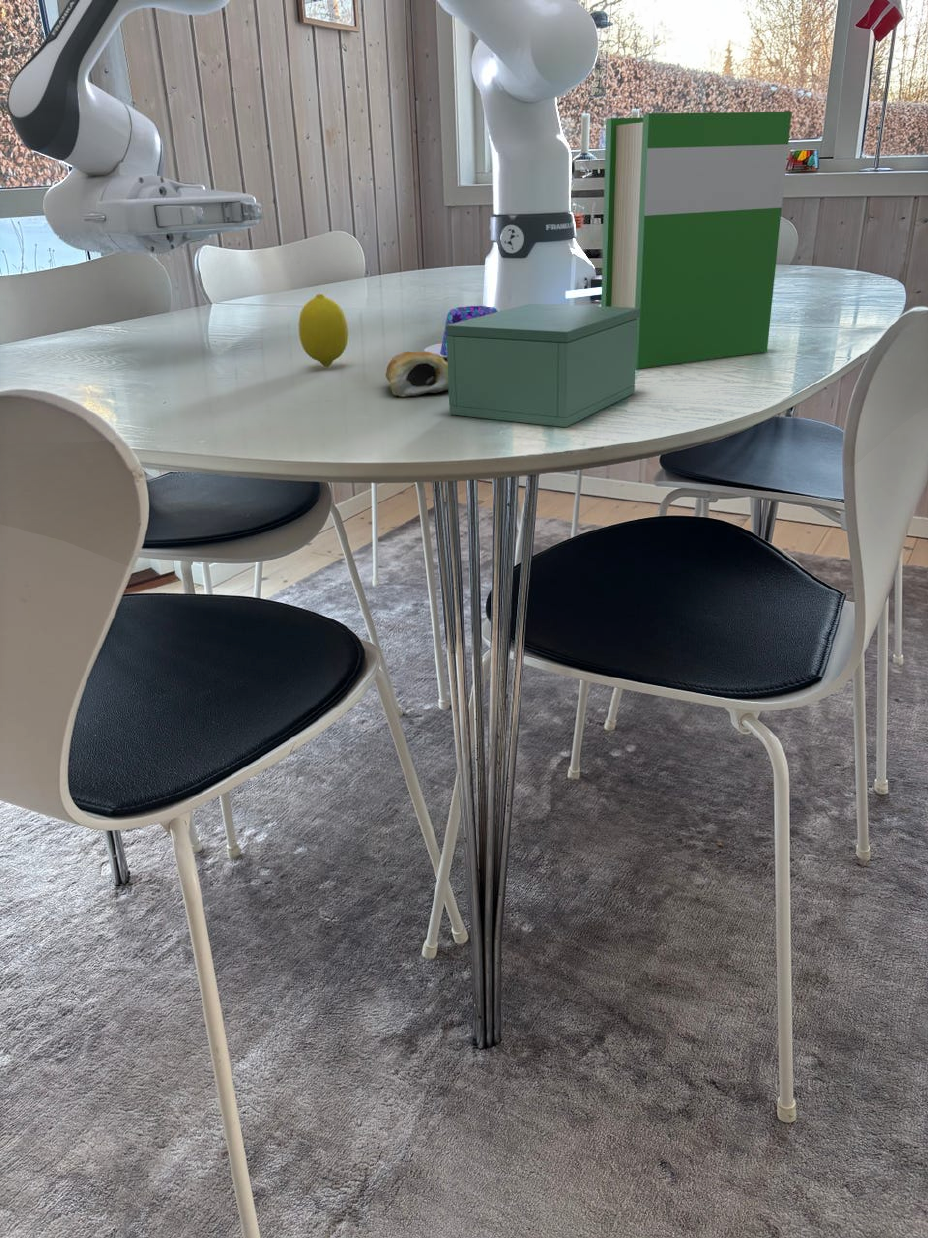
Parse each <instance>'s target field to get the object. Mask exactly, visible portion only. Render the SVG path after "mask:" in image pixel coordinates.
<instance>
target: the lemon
mask: <svg viewBox="0 0 928 1238" xmlns="http://www.w3.org/2000/svg"><path fill="white" fill-rule="evenodd" d="M298 318H299V319H298V335H299V336H298V338H299V341H300V344H301V347H302V349H303V351H304V352H305V353H306V355H307V356H309V358H311V359H313V360H314V361H317V362H319V363H320V364H321V365H322V366H323V367H325V368H328V367H330V366H331V365H332V363H334V361H335V360H337V359H339V358H340V357H341V356H342V355H343V354H344V352H345V350H346V348H347V345H348V342H349V341H348V340H349V328H348V323H347V319H346V316H345V313H344V311H343V309H342V308H341V306H340V305H339V304H338V303H337V302H336V301H335V300H333V299H331V298H329V297H326V296H325V295H324V294H323V293H317V294H316V295H315V296H314V297H313V298H312V299H309V301H307V302H306V303H305V304H304V305H303V307H302V308H301V311H300V314H299V317H298Z"/></svg>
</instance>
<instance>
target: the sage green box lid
mask: <svg viewBox="0 0 928 1238" xmlns="http://www.w3.org/2000/svg"><path fill="white" fill-rule="evenodd" d="M640 311H641V308H630V307H604V306H577V305H551V304H527V305H523V306H519V307H515V308H512V309H508V310H504V311H500V312H496V313H492V314H488V315H484V316H480V317H476V318H473V319H469V320H465V321H461V322H457V323H453V324H449V325H446V324H445V325H446V335H449V336H465V337H482V338H499V339H515V340H532V341H548V342H565V343H567V342H570V341H573V340H576V339H579V338H582V337H584V336H587V335H590V334H593V333H596V332H599V331H602V330H605V329H608V328H611V327H613V326H616V325H619V324H622V323H625V322H628V321H631V320H634V319H637V318H640Z"/></svg>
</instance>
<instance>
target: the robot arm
mask: <svg viewBox="0 0 928 1238" xmlns="http://www.w3.org/2000/svg"><path fill="white" fill-rule="evenodd" d="M230 1H231V0H68V1H67V3H66V5H65V6H64V8H63V9H62V11H61V13H60V14H59V16H58V18H57V19H56V21H55V23H54V24H53V25H52V27H51V29H50V31H49V32H48V33H47V35H46V37H45V38H44V39H43V42H42V43H41V45H40V46H39V47H38V48H37V50H36V51H35V52H34V53H33V54H32V56H31V57H30V58H29V59H28V60H27V61H26V62H25V63H24V64H23V66H22V67H21V68H20V69H19V70H18V72H17V74H16V75H15V76H14V78H13V80H12V81H11V84H10V86H9V88H8V92H7V95H6V96H7V97H6V107H7V111H8V116H9V119H10V121H11V124H12V127H13V129H14V130H15V132H16V134H17V136H18V138H19V139H20V141H21V143H22V144H23V146H25V147H26V148H27V149H28V150H29V151H32V152H35V153H36V154H37V153H38V154H39V155H42V156H45V157H46V158H50V159H52V160H55V161H58V162H62V163H63V164H65V165H67V166H69V167H70V168H71V167H72V169H71V170H70V171H69V173H68V174H67V175H66V176H65V178H64V179H62V180H61V181H59V182H58V183H56V184H54V185H53V186H51V187H50V188H49V189H48V190H47V191H46V193H45V195H44V198H43V202H42V203H43V206H42V207H43V213H44V217H45V220H46V222H47V224H48V226H49V228H50V229H51V231H52V232H53V233H54V235H56V237H57V238H58V239H59V240H60V241H62V242H63V243H64V244H66V245H67V246H69V247H72V248H75V249H77V250H80V251H85V252H91V253H100V254H101V253H102V254H117V253H122V252H124V253H128V254H138V255H139V254H145V255H147V254H148V255H165V254H168V253H169V252H172V251H173V250H176V249H178V248H180V247H182V246H185V245H186V244H191V243H195V242H201V241H204V240H210V239H211V238H212V235H217V234H223V233H230V232H236V231H241V230H242V231H243V230H247V229H253V228H256V227H257V226H258V224H259V221H262V220H263V218H264V210H263V205H262V204H261V203H259V202H257V199H256V197H255V196H254V195H252V194H249V193H246V192H245V193H244V192H236V191H228V190H220V189H219V190H218V189H210V188H209V189H208V188H206V187H205V186H204V185H203V184H197V183H189V182H188V183H187V182H182V181H181V182H180V181H175V180H172V179H170V178H166V177H163V175H164V167H165V152H164V143H163V139H162V136H161V132H160V131H159V128H158V126H157V125H156V124H155V122H154V121H153V119H151V118H149V117H147V116H146V115H144V114H143V113H142V112H139V111H138V110H137V109H135V108H133V107H132V106H130V105H128V104H127V103H125V102H124V101H122V100H121V99H118V98H116V97H114V96H112V95H110V94H109V93H107V92H106V91H104V90H103V89H101V88H99V87H98V86H96V85H95V84H93V83H91V82H90V81H89V74H90V72H91V70H92V69H93V67H94V66H95V64H96V62H97V61H98V59H99V57H101V55H102V53H103V51H104V49H105V48H106V46H107V44H108V43H109V41H110V40H111V38H112V36H113V35H114V33H115V32H116V30H117V29H118V27H119V25H120V23H121V22H122V21H123V20H124V18H125V17H127V16H128V15H129V14H130V13H132V12H135V11H137V10H139V9H140V10H141V9H145V8H151V9H153V8H155V9H160V10H164V11H168V12H173V13H177V14H180V15H181V14H182V15H187V16H188V15H189V16H205V15H209V14H212V13H215V12H218V11H220V10H221V9H223V8H225V7H226V6H228V4H229V3H230ZM436 1H437V3H438V4H439V5H440V7H441V8H442V9H443V11H445V12H446V13H447V14H449V15H450V16H452V17H454V18H455V19H456V20H458V21H459V22H461V23H462V24H463V25H464V26H465V27H466V28H467V29H468V30H469V31H470V32H471V33H473V34H474V35H475V36H476V38H478V40H477V41H476V44H475V45H474V48H473V51H472V55H471V63H470V65H471V66H470V67H471V74H472V78H473V81H474V84H475V85H476V87H477V89H478V91H479V93H480V99H481V104H482V109H483V115H484V119H485V125H486V129H487V134H488V135H487V136H488V141H489V147H490V154H491V173H492V174H491V175H492V176H491V177H492V211H493V212H492V213H493V214H491V215H490V224H489V231H490V233H489V234H490V241H491V242H492V247H491V250H490V252H489V253H488V254H487V256H486V257H485V259H484V275H483V295H482V306H486V307H494V308H496V309H497V311H498V312H500V311H504V310H508V309H512V308H515V307H519V306H523V305H527V304H551V305H577V306H601V296H602V275H597V272H596V268H595V266H594V264H592V262H591V261H590V260H589V258H588V256H587V255H586V254H585V253H584V251H583V250H582V248H581V247H580V246H579V244H578V242H577V240H576V239H577V237H578V234H577V230H582V228H583V225H584V217H583V214H580V213H577V214H574V212H572V211H571V207H572V206H571V203H572V202H571V201H572V200H571V199H572V198H571V195H572V152H571V148H570V145H569V143H568V142H567V140H566V137H565V136H564V133H563V129H562V126H561V120H560V116H559V111H558V105H557V98H561V97H563V96H565V95H567V94H569V93H570V92H571V91H573V90H574V89H575V88H577V87H578V86H579V85H580V84H581V83H582V82H584V81H585V80H586V79H587V77H588V76H589V75H590V74H591V73H592V71H593V69H594V67H595V65H596V62H597V58H598V55H599V50H600V49H599V47H600V41H599V33H598V29H597V25H596V22H595V19H594V18H593V17H592V15H591V14H590V12H589V11H588V10H587V9H586V7H584V6H583V5H581V4H580V3H578V2H576V1H574V0H436Z"/></svg>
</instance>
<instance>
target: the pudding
mask: <svg viewBox="0 0 928 1238" xmlns="http://www.w3.org/2000/svg"><path fill="white" fill-rule="evenodd" d="M496 312H498V311H497V309H496V308H494V307H486V306H483V305H476V306H475V305H468V306H463V307H462V306H460V307H455V308H452V309H450V310H449V311H448V313H447V315H446V320H445V325H444V331H443V335H442V340H441V343H436V344H432V345H430V346H427V347H426V348H424V350H423V351H427V352H431V353H434V354H439V355H440V356H442V357H443V359H446V360H447V339H446V336H449V335H446V325H449V324H453V323H457V322H461V321H465V320H469V319H473V318H476V317H480V316H484V315H488V314H492V313H496Z"/></svg>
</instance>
